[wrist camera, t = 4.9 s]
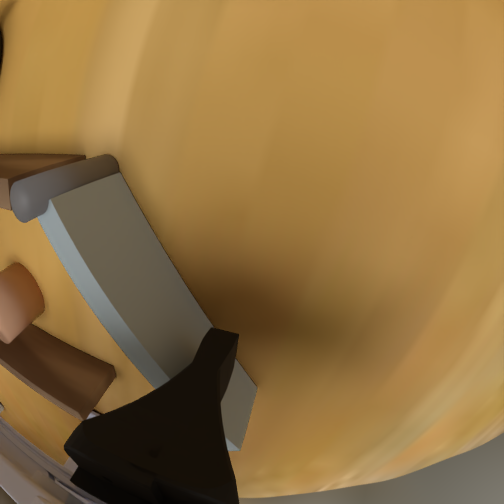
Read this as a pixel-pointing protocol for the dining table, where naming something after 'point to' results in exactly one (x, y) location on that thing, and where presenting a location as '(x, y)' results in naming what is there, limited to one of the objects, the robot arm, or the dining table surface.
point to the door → (126, 275)
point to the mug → (0, 45)
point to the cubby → (39, 342)
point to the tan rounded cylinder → (18, 301)
